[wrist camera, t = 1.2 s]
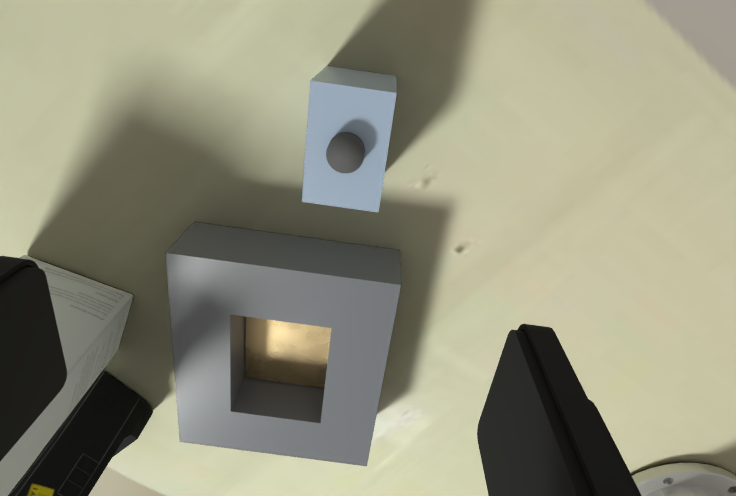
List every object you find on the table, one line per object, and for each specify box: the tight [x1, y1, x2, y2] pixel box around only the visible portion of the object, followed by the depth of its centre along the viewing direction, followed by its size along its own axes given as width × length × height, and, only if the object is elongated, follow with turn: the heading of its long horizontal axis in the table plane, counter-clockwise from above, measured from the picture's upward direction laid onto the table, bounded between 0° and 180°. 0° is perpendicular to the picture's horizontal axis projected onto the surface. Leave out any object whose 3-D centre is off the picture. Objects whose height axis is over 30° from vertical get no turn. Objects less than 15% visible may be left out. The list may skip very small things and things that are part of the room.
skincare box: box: [0, 255, 133, 496], centre depth 29 cm, size 8×6×15 cm
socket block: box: [165, 222, 401, 466], centre depth 33 cm, size 14×16×4 cm
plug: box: [302, 66, 397, 213], centre depth 25 cm, size 4×6×7 cm, turn 173°
